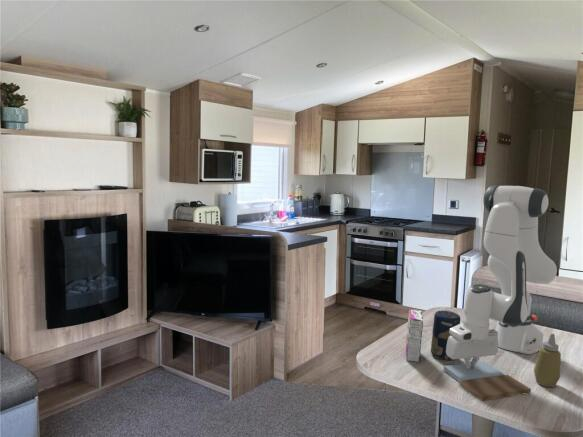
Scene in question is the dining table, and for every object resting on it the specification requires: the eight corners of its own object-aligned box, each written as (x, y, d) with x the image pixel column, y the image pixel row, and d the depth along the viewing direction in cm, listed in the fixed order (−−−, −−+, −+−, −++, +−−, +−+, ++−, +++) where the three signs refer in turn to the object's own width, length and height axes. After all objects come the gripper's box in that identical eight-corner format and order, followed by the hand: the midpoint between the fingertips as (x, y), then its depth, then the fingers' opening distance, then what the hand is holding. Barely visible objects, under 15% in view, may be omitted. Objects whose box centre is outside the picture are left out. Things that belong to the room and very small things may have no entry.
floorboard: (507, 378, 166) (507, 374, 165) (530, 393, 156) (530, 388, 156) (460, 385, 159) (461, 381, 158) (481, 400, 149) (482, 396, 149)
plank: (484, 365, 175) (484, 361, 174) (504, 378, 165) (504, 374, 165) (443, 369, 169) (444, 366, 168) (462, 384, 159) (462, 380, 159)
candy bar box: (404, 349, 186) (408, 309, 183) (417, 350, 185) (422, 310, 183) (405, 361, 175) (409, 318, 173) (419, 363, 174) (424, 320, 172)
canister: (456, 353, 184) (461, 309, 182) (456, 363, 175) (461, 317, 173) (430, 349, 187) (435, 305, 185) (429, 358, 178) (434, 312, 176)
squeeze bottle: (527, 377, 167) (534, 329, 165) (549, 378, 168) (556, 329, 165) (541, 389, 159) (548, 338, 157) (563, 389, 160) (571, 339, 158)
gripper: (491, 325, 173) (487, 361, 175) (445, 329, 166) (441, 366, 168) (504, 332, 167) (499, 369, 169) (457, 336, 160) (452, 374, 162)
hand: (470, 367), depth 168 cm, fingers closed, pressing on plank
